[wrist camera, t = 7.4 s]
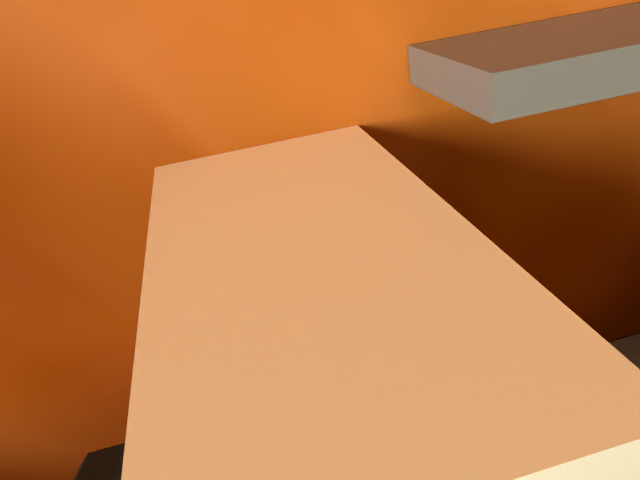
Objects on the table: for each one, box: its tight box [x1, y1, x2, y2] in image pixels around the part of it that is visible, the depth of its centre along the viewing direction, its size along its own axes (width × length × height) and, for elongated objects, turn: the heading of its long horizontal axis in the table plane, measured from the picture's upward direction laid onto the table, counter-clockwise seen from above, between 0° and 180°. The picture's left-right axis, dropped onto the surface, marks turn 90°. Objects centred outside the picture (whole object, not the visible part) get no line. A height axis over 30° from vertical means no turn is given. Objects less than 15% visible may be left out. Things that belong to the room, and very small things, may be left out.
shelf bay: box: [408, 2, 640, 369], centre depth 13 cm, size 9×11×4 cm
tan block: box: [121, 125, 640, 480], centre depth 10 cm, size 4×8×9 cm, turn 8°
